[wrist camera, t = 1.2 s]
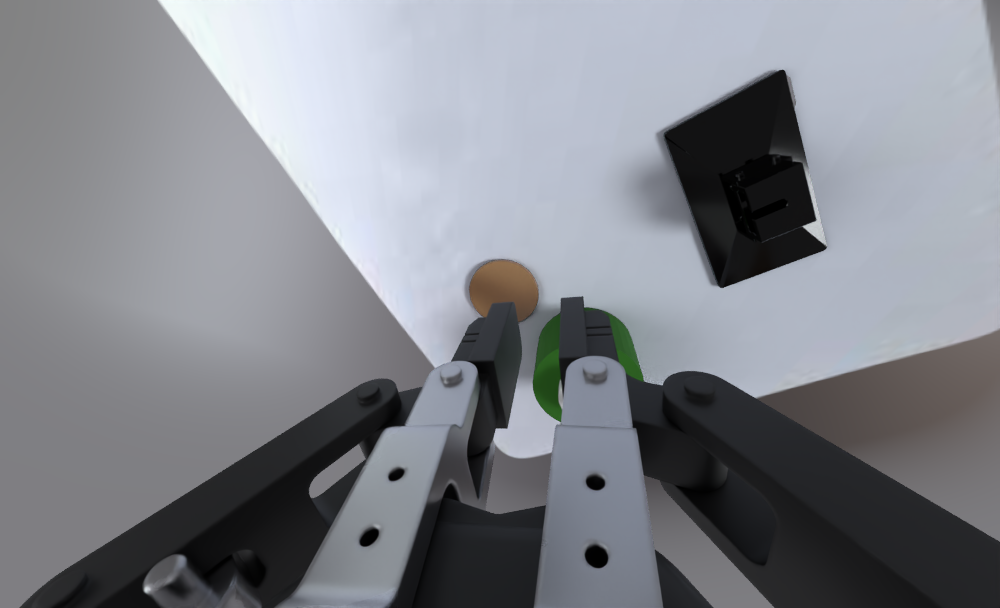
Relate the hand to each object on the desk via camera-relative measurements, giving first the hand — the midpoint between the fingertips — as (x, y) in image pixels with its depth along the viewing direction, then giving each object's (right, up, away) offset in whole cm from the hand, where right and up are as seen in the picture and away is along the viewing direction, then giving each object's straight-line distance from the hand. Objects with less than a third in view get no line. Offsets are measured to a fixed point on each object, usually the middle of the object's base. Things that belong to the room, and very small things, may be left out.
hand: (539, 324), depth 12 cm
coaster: (-1, +2, +19) cm, 19 cm away
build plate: (+15, +8, +12) cm, 22 cm away
